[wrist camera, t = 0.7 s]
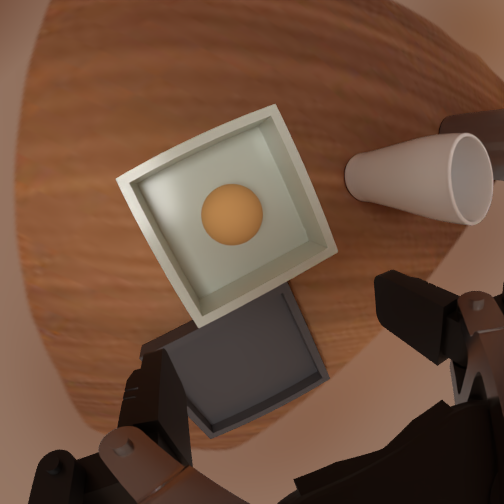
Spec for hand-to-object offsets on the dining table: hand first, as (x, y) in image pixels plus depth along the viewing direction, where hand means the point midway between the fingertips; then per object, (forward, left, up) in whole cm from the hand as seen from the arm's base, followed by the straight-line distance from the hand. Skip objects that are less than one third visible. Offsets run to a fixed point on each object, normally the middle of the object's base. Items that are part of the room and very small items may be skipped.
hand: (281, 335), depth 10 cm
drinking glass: (-17, +1, -19) cm, 25 cm away
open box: (-2, -2, -18) cm, 19 cm away
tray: (+4, +13, -18) cm, 23 cm away
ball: (-2, -2, -17) cm, 18 cm away
